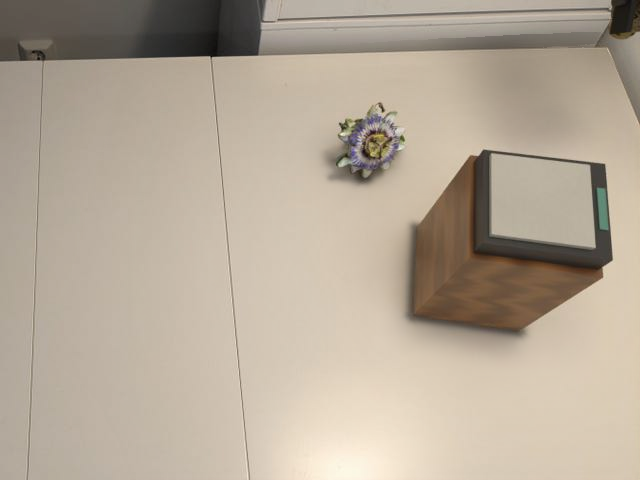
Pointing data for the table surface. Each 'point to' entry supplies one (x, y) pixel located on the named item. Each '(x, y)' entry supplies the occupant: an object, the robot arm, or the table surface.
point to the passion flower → (371, 141)
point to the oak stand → (482, 270)
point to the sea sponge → (638, 26)
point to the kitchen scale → (541, 209)
